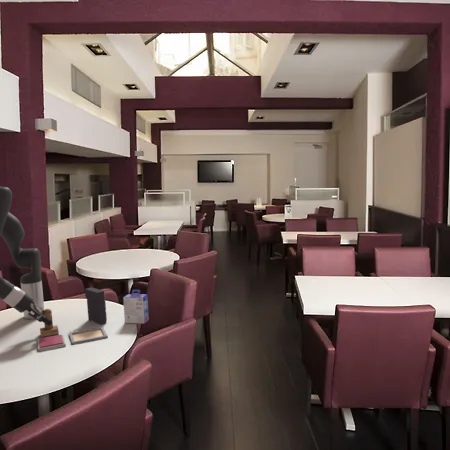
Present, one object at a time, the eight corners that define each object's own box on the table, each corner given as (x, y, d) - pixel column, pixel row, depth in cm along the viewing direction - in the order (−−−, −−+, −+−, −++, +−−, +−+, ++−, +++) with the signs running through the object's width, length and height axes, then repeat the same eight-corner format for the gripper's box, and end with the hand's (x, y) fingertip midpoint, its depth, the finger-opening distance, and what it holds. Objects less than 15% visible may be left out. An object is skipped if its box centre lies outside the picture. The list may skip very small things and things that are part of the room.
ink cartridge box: (149, 319, 199) (147, 289, 197) (144, 324, 194) (143, 292, 192) (129, 319, 201) (127, 288, 199) (124, 323, 196) (122, 292, 194)
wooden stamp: (40, 334, 185) (38, 308, 184) (57, 331, 188) (55, 305, 187) (41, 338, 181) (38, 311, 179) (58, 335, 184) (56, 309, 182)
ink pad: (37, 341, 177) (37, 338, 177) (63, 337, 182) (62, 333, 181) (38, 351, 167) (38, 347, 167) (65, 346, 172) (65, 342, 171)
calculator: (108, 322, 197) (105, 290, 195) (99, 325, 194) (97, 292, 192) (95, 317, 205) (93, 286, 203) (87, 320, 202) (84, 288, 200)
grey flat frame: (69, 334, 184) (68, 332, 184) (102, 328, 190) (102, 326, 190) (72, 344, 173) (72, 342, 173) (107, 337, 179) (107, 335, 179)
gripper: (24, 296, 172) (58, 318, 178) (24, 287, 185) (55, 309, 191) (11, 311, 170) (45, 333, 177) (11, 301, 183) (43, 323, 190)
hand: (50, 321), depth 184 cm, fingers open, 8 cm apart
